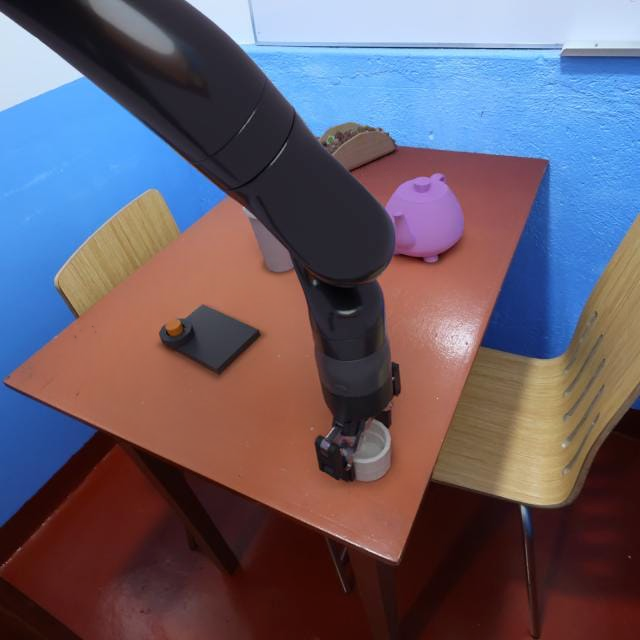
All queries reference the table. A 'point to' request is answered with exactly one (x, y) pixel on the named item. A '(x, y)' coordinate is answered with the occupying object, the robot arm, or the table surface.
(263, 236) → the coffee cup
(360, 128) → the taco
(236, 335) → the dark grey flat slab
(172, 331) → the button
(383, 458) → the white round cup
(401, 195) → the teapot
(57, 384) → the table surface
